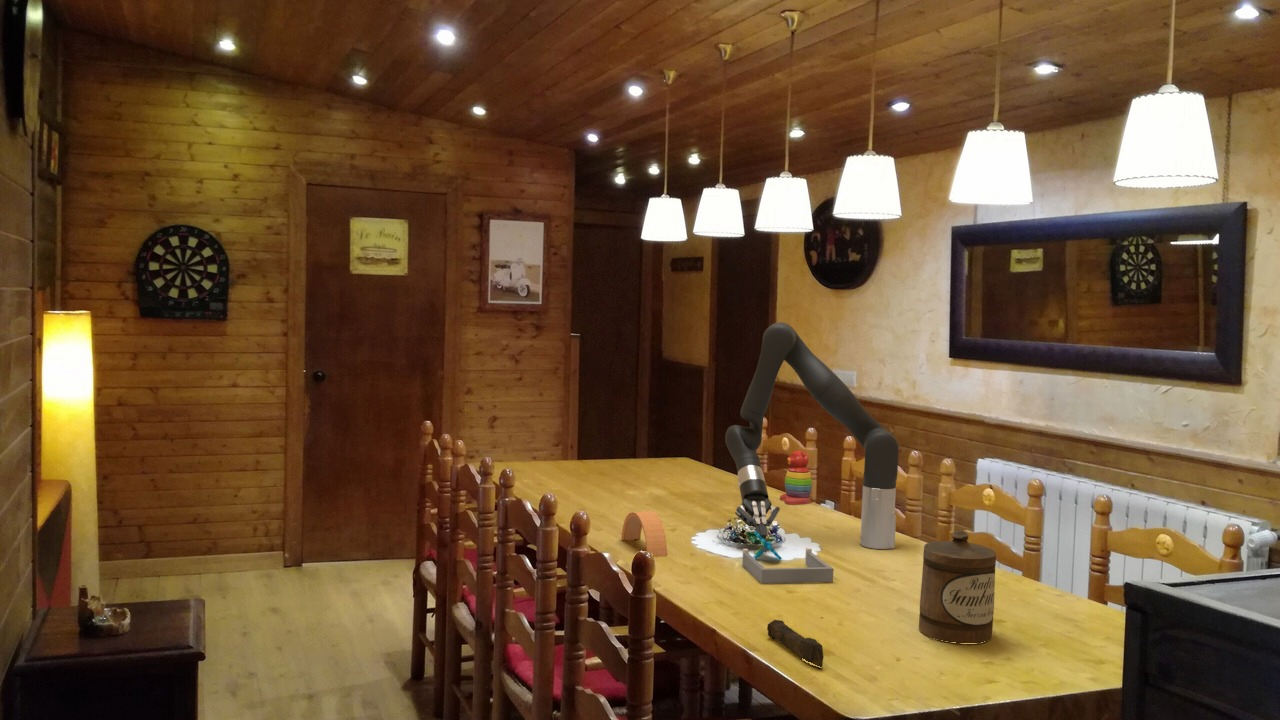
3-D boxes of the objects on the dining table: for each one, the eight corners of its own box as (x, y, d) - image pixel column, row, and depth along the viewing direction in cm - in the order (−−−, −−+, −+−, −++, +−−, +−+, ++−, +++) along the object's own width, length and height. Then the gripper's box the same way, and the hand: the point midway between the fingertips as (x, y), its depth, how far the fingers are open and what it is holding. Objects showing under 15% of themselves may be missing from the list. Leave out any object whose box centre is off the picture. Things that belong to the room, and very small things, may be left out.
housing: (742, 565, 260) (742, 548, 259) (809, 564, 263) (810, 547, 263) (761, 583, 243) (762, 566, 243) (832, 582, 247) (833, 564, 246)
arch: (646, 558, 265) (647, 521, 264) (621, 540, 283) (622, 505, 283) (666, 556, 267) (668, 519, 266) (640, 539, 285) (641, 504, 285)
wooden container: (955, 649, 201) (960, 541, 200) (904, 626, 214) (909, 525, 213) (1007, 639, 208) (1013, 535, 207) (955, 618, 221) (960, 520, 220)
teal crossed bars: (786, 559, 261) (759, 531, 262) (769, 574, 261) (743, 546, 261) (781, 554, 272) (755, 527, 273) (765, 569, 272) (739, 542, 272)
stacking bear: (778, 498, 351) (780, 448, 350) (806, 498, 353) (808, 448, 351) (786, 504, 341) (788, 453, 340) (815, 505, 342) (817, 453, 341)
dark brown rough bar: (765, 638, 204) (766, 616, 204) (783, 637, 206) (784, 615, 205) (808, 672, 186) (808, 648, 186) (827, 671, 188) (828, 646, 187)
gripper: (732, 477, 279) (742, 531, 268) (778, 477, 281) (789, 530, 270) (727, 492, 285) (736, 545, 273) (771, 492, 287) (782, 545, 276)
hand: (763, 538), depth 272 cm, fingers closed
